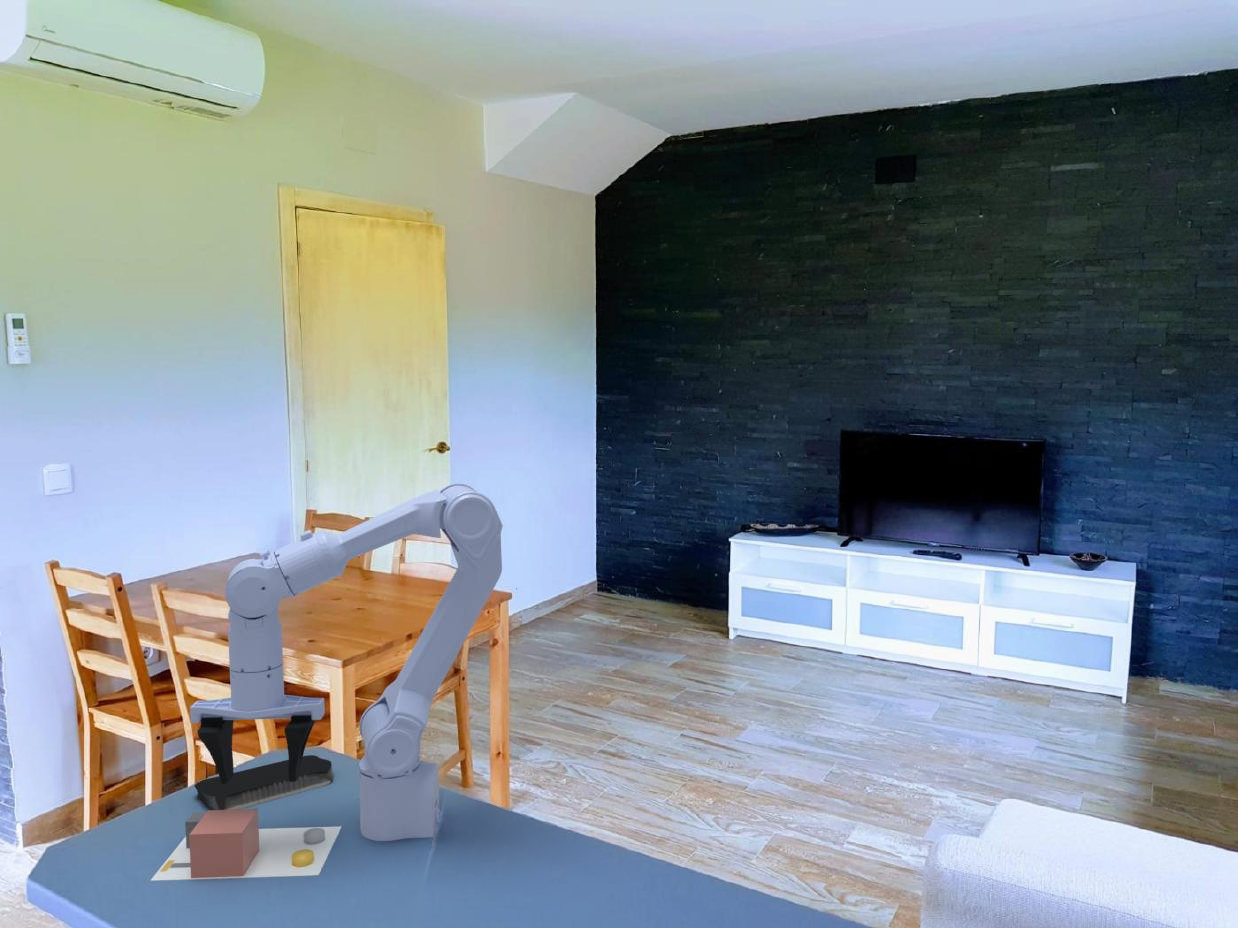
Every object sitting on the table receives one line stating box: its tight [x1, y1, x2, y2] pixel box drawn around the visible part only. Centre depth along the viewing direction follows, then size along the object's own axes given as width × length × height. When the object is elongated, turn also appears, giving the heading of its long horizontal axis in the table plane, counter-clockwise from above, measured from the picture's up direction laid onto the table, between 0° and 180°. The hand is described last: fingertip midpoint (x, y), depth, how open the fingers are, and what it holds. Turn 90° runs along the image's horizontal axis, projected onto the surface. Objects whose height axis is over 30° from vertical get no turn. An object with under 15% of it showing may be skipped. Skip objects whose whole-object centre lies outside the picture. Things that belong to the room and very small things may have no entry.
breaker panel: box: [150, 811, 342, 882], centre depth 107 cm, size 18×11×4 cm, turn 94°
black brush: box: [193, 754, 334, 810], centre depth 123 cm, size 16×8×4 cm, turn 128°
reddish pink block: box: [189, 808, 260, 878], centre depth 104 cm, size 6×6×5 cm
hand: (261, 779), depth 107 cm, fingers open, 7 cm apart
